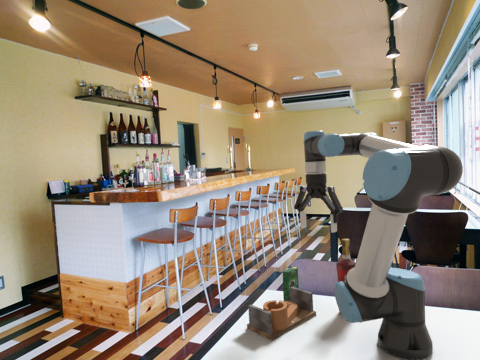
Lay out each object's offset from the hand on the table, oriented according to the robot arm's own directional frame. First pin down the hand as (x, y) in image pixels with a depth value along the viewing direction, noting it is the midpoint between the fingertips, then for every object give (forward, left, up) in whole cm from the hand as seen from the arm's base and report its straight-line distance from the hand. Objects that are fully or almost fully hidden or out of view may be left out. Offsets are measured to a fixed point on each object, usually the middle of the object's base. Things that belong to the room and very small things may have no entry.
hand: (318, 229), depth 131 cm
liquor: (-8, -5, -32) cm, 33 cm away
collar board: (+6, +16, -32) cm, 36 cm away
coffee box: (+16, -1, -32) cm, 36 cm away
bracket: (+6, +16, -30) cm, 35 cm away
